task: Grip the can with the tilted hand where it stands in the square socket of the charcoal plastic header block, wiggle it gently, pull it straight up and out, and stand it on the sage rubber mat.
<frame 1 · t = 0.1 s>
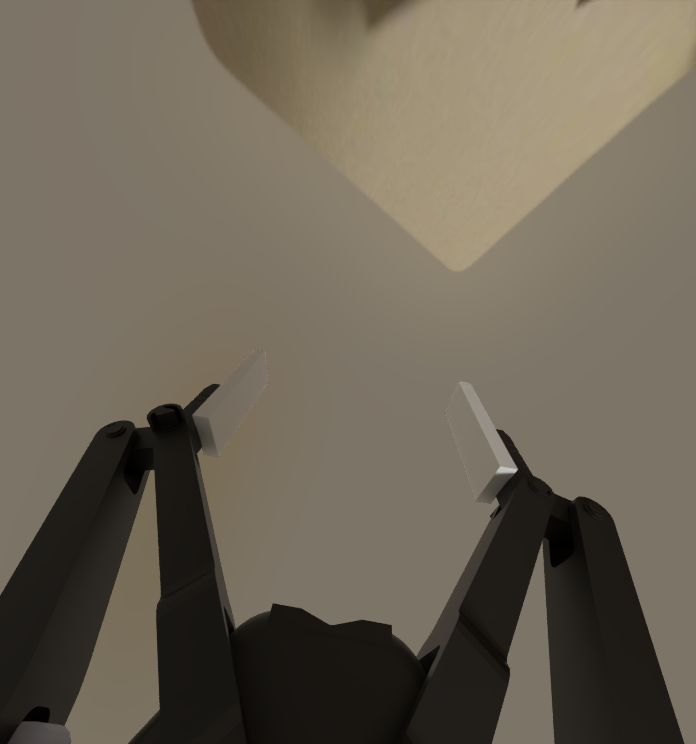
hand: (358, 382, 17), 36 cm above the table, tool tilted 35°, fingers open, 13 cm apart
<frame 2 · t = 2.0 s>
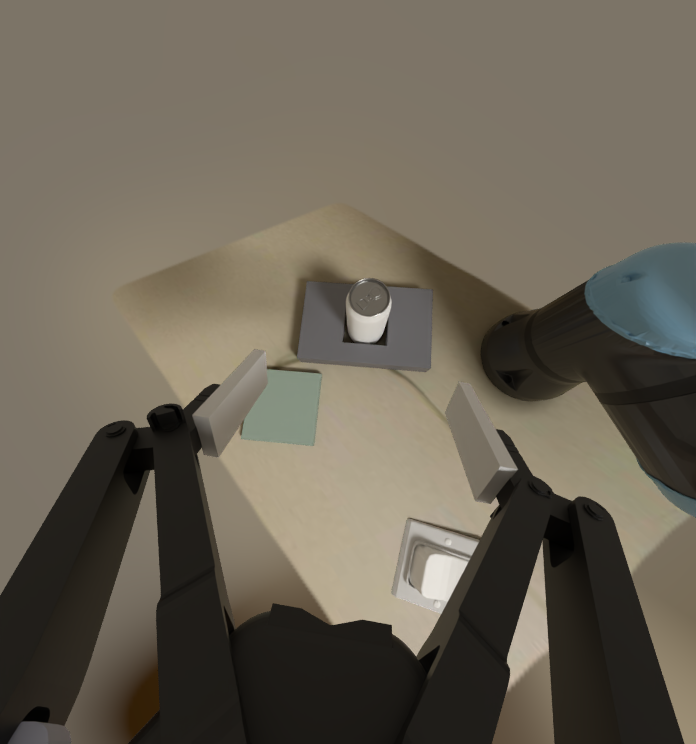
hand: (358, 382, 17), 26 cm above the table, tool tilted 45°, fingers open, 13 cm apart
light switch: (438, 564, 38), on the table
can: (365, 329, 45), resting in header block
header block: (365, 329, 45), on the table
mat: (283, 406, 42), on the table
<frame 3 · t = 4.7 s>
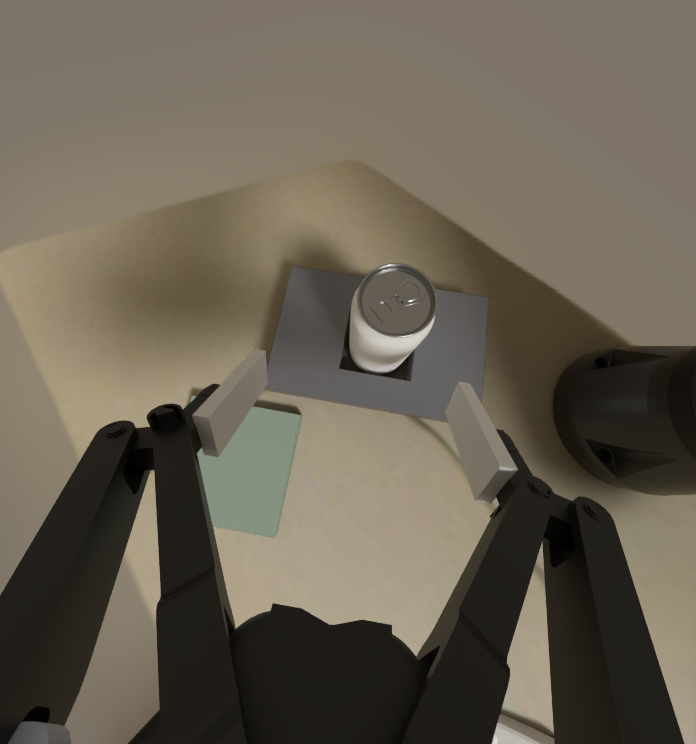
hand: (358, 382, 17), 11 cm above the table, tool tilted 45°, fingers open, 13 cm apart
can: (376, 349, 29), resting in header block
header block: (376, 349, 29), on the table
mat: (235, 461, 26), on the table
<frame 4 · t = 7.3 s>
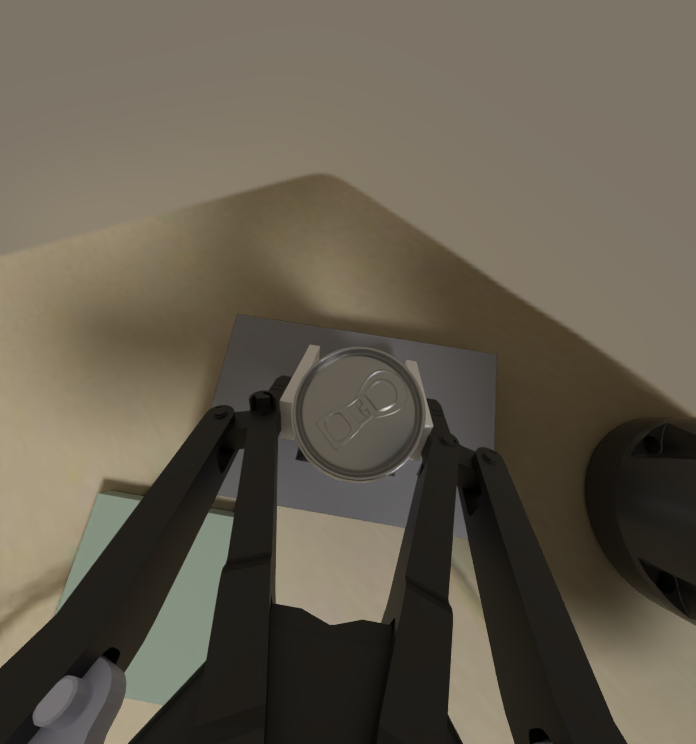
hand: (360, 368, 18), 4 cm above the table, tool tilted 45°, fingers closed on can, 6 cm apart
can: (351, 418, 22), resting in header block, touching gripper
header block: (351, 418, 22), on the table
mat: (156, 585, 19), on the table
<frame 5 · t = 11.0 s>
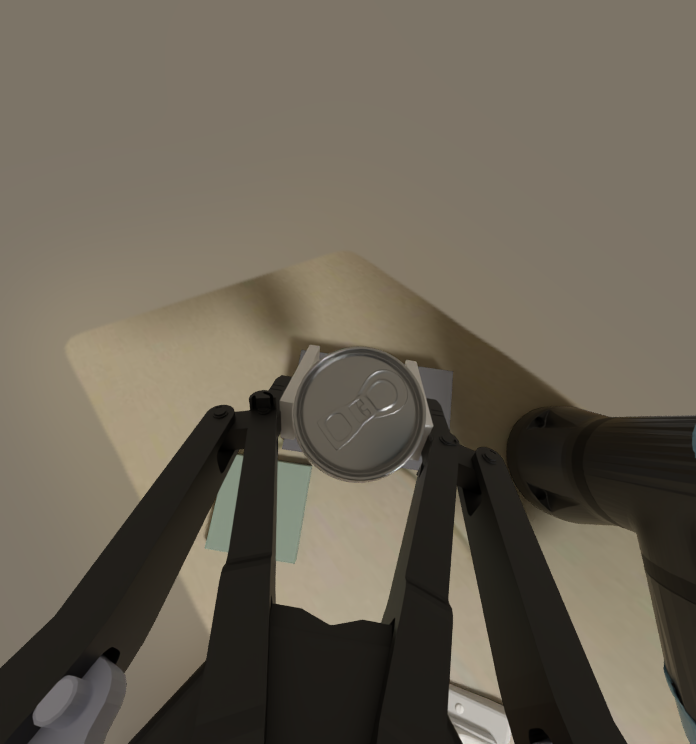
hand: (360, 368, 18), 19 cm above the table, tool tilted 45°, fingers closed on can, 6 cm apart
light switch: (444, 732, 30), on the table
can: (352, 418, 22), point 15 cm above the table, touching gripper
header block: (368, 410, 37), on the table
mat: (262, 503, 34), on the table
when the fingers open (6 cm above the table, at t = 14.6 s): can stays where it is, resting on mat.
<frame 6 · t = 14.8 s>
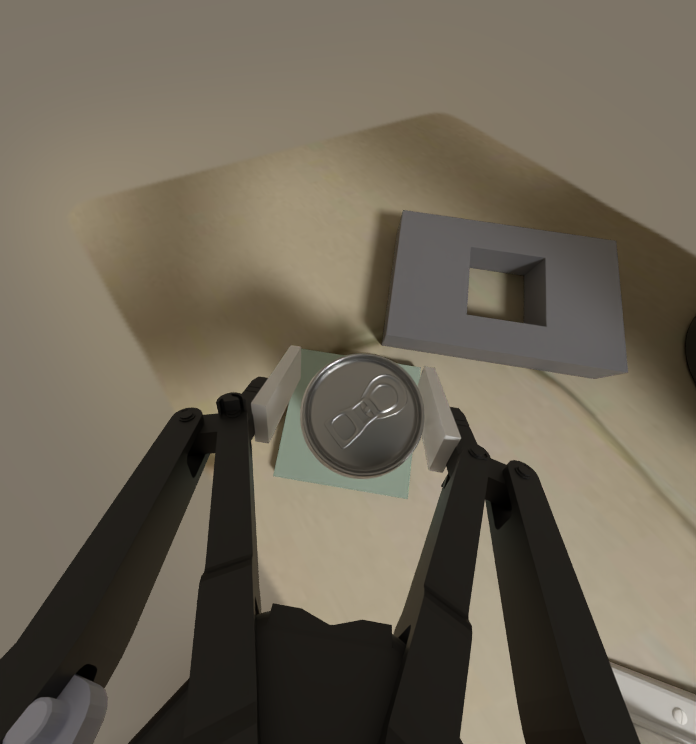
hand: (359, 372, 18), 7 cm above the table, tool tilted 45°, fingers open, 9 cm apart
can: (354, 419, 23), point 1 cm above the table, touching mat
header block: (489, 300, 27), on the table
mat: (350, 419, 24), on the table
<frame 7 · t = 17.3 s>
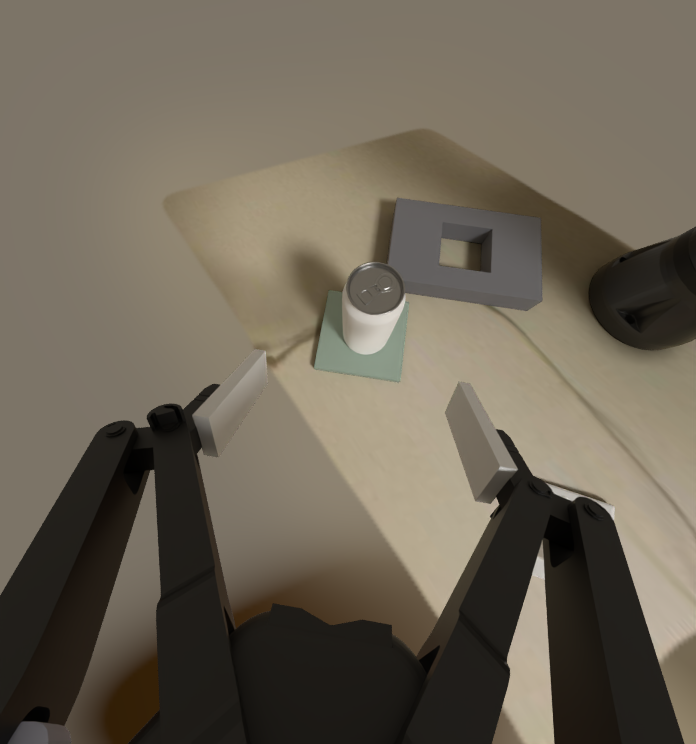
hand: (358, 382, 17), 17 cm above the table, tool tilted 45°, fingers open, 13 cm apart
light switch: (548, 529, 32), on the table
can: (365, 334, 35), point 1 cm above the table, touching mat
header block: (457, 260, 39), on the table
mat: (362, 336, 36), on the table
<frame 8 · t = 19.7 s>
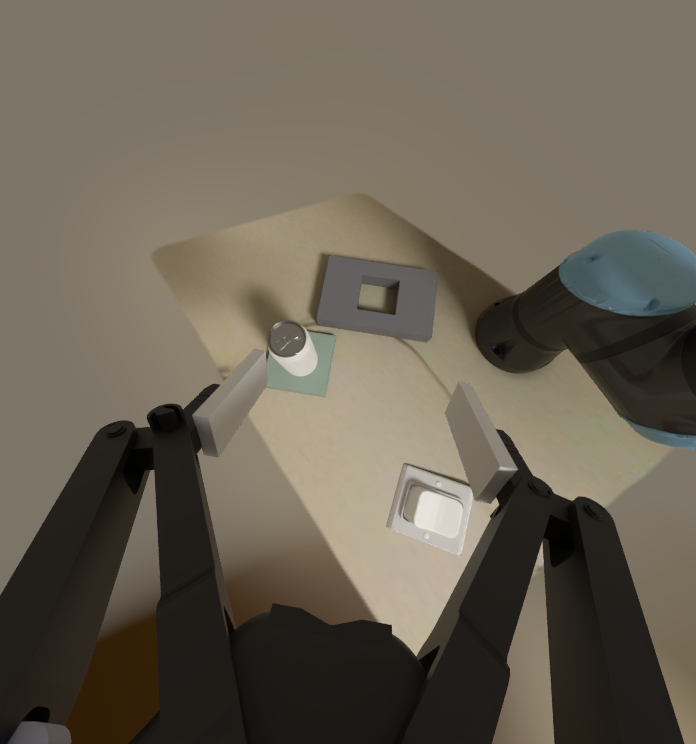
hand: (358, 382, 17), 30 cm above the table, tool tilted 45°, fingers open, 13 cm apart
light switch: (428, 505, 43), on the table
can: (301, 360, 47), point 1 cm above the table, touching mat
header block: (376, 302, 51), on the table
mat: (300, 361, 48), on the table
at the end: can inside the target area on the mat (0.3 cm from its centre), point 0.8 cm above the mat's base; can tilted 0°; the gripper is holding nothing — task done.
